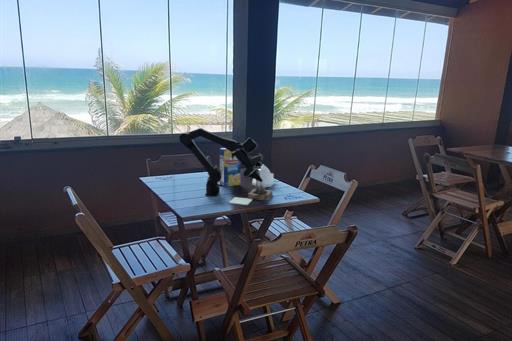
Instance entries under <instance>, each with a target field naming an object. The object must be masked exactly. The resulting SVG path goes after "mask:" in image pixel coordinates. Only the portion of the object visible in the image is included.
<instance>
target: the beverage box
mask: <svg viewBox="0 0 512 341" xmlns="http://www.w3.org/2000/svg"><path fill="white" fill-rule="evenodd" d="M238 150H240V149H238ZM234 152H235V151H233V152H231V151H229V150H227V149H226V148H224V147H221V148H219V169H220V170H221V174H222V175H221V180H220V181H219V185H221V186H222V187H231V186H232V187H233V186H240V185H241V175H242V174H241V172H242V171H241V166H242V165H241V162H240V161H239V160H238V159H237V158H236V157H235V156H234V157H233V158H231V156H232V154H231V153H234Z"/></svg>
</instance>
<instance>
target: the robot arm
mask: <svg viewBox="0 0 512 341" xmlns="http://www.w3.org/2000/svg"><path fill="white" fill-rule="evenodd" d="M199 137H201V138H204V139H206V140H209V141H211V142H214V143H216V144H218V145H220V146H222V148H226V149H227V150H229V151H231V152H233V151H235V152H234V153H231V154H232V156H231V158H233V157H234V156H235V157H236V158H237V159H238V160H239V161H240V162H241V166H243V167H244V168H245V170H244V171H243V176H244V177H245V178H247V177H248V178H251V179H252V180H253V179H256V180H258V181H260V182H262V181H263V180H262V179H261V177H260V176H259V174H258V173H257V169H260V168H261V166H262V165H263V161H264V155H263V154H262V153H260V152H258V153H256V154H255V156H252V155H249V153H251V154H252V152H253V151H254V150H256V149H257V148H258V147H259V145H258V143H257V142H256V141H255V140H254V139H252V138H251V137H248V138H247V139H246V140H245V141H244V142H239V141H237V140H235V139H232V138H229V137H228V138H226V137H222V136H220V135H218V134H215V133H214V132H211V131H208V130H205V129H204V128H202V127H199V128H197V129H194V130H191V131H184V132H182V133H181V134H180V135H179V138H178V141H179V142H180V143H181V144H182V145H183V146H184V147H185V148H187V149H188V150H189V151H190V152H191V153H192V154H193V155H194V156H195V158H196V159H197V160H198V162H199V163H200V164H201V165H202V166H203V168H204V169H205V171H206V172H207V174H208V177H207V180H206V185H205V186H206V187H205V188H206V189H205V190H206V191H205V193H204V195H205V196H209V197H217V196H218V195H220V193H221V192H220V188H221V187H220V186H219V185H220V180H221V175H222V174H221V170H220V167H219V166H218V165H217V164H216V165H215V166H214V165H213V164H212V163H211V162H210V161H209V160H208V158H207V157H206V156H205V154H204V152H202V151H201V149H200V147H198V146H197V144H196V143H195V139H196V138H199ZM238 149H240V150H238Z"/></svg>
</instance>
